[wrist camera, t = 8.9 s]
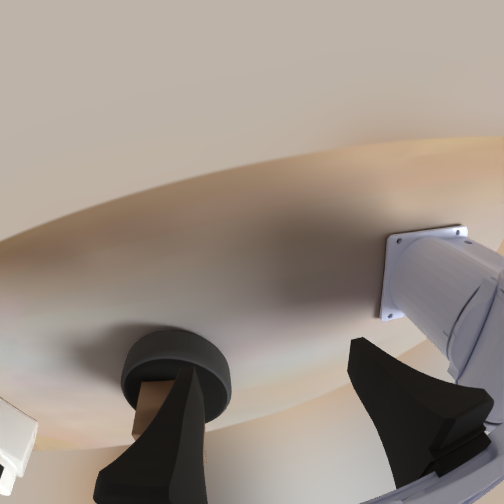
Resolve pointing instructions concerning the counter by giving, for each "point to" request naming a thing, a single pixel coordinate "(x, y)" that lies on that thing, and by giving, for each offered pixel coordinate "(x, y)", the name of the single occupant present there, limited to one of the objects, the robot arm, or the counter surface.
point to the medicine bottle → (14, 444)
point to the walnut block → (153, 406)
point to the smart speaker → (178, 367)
